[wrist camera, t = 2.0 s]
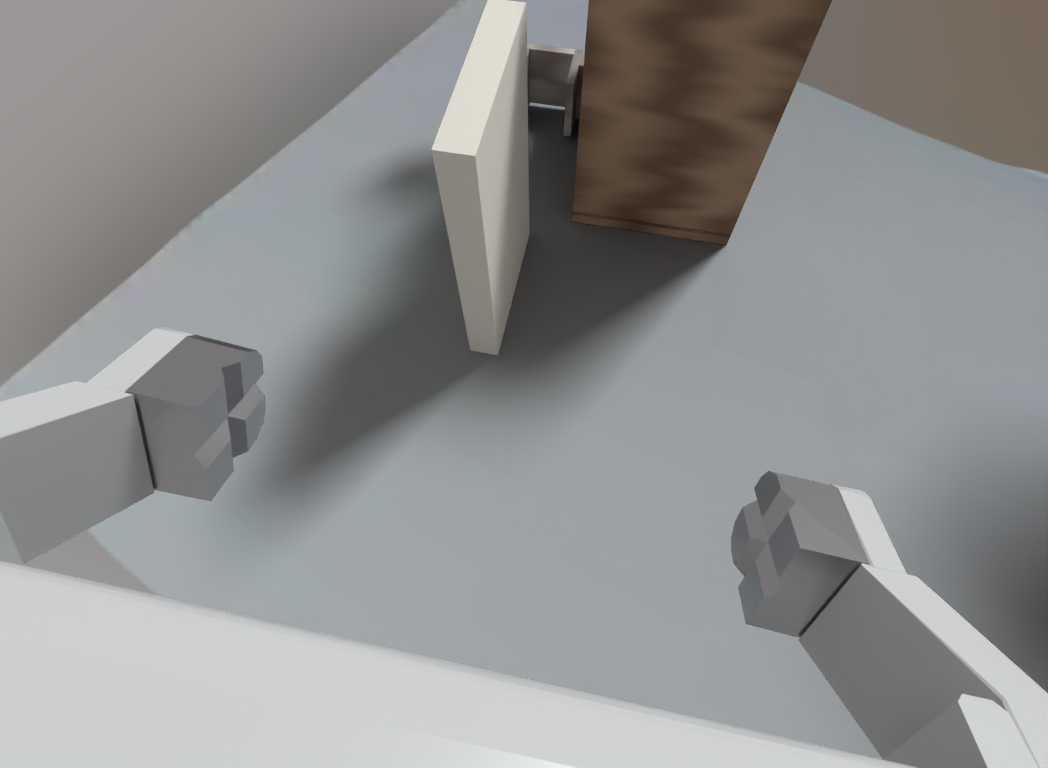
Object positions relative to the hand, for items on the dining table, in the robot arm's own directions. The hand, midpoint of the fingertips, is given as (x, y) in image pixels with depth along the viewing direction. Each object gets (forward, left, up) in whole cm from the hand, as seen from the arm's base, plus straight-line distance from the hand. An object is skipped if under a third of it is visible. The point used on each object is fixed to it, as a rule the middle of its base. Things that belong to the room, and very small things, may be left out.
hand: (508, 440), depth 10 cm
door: (-7, -22, -28) cm, 37 cm away
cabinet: (-20, -30, -28) cm, 46 cm away
